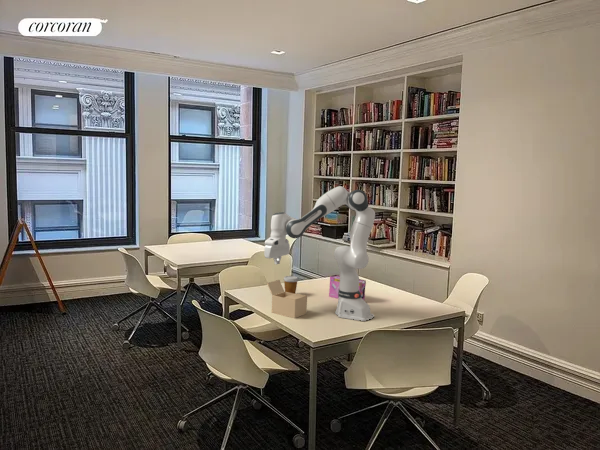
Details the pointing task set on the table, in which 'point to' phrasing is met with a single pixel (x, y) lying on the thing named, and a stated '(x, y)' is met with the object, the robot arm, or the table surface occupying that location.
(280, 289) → the carton flap
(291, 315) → the kraft carton
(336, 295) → the gum box
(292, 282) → the disposable coffee cup
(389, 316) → the table surface
